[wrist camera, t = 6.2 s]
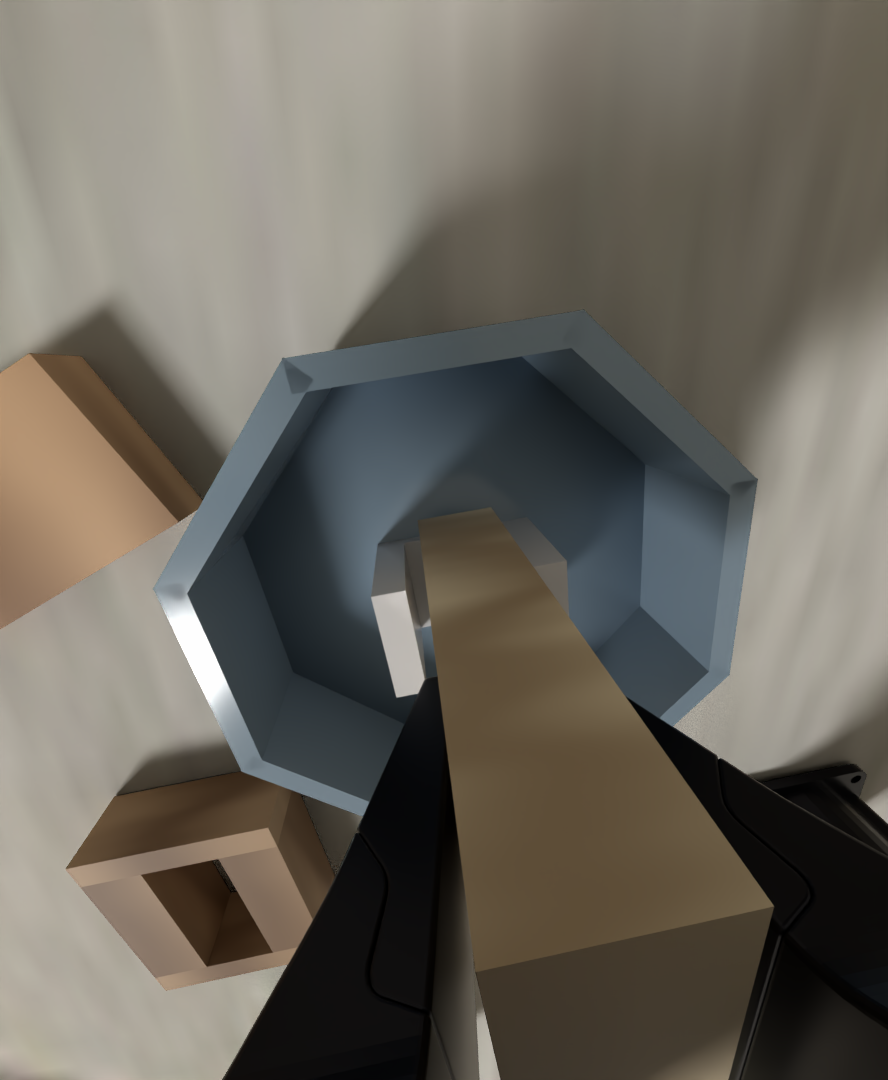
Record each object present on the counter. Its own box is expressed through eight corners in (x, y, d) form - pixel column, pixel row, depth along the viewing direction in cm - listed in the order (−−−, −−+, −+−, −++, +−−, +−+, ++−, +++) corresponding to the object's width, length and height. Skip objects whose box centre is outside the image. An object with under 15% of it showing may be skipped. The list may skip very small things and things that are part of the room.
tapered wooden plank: (93, 357, 11) (29, 353, 9) (211, 500, 12) (178, 522, 11) (-158, 524, 12) (-263, 551, 10) (-16, 636, 13) (-83, 678, 11)
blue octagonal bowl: (660, 308, 11) (787, 275, 8) (643, 683, 16) (715, 774, 13) (174, 387, 11) (58, 393, 7) (312, 749, 16) (286, 863, 12)
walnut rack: (286, 762, 16) (268, 827, 14) (338, 884, 19) (330, 954, 17) (114, 796, 16) (65, 869, 13) (194, 914, 19) (165, 990, 16)
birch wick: (491, 506, 11) (774, 905, 3) (506, 644, 13) (710, 1150, 4) (417, 520, 11) (475, 971, 3) (443, 656, 13) (526, 1194, 4)
